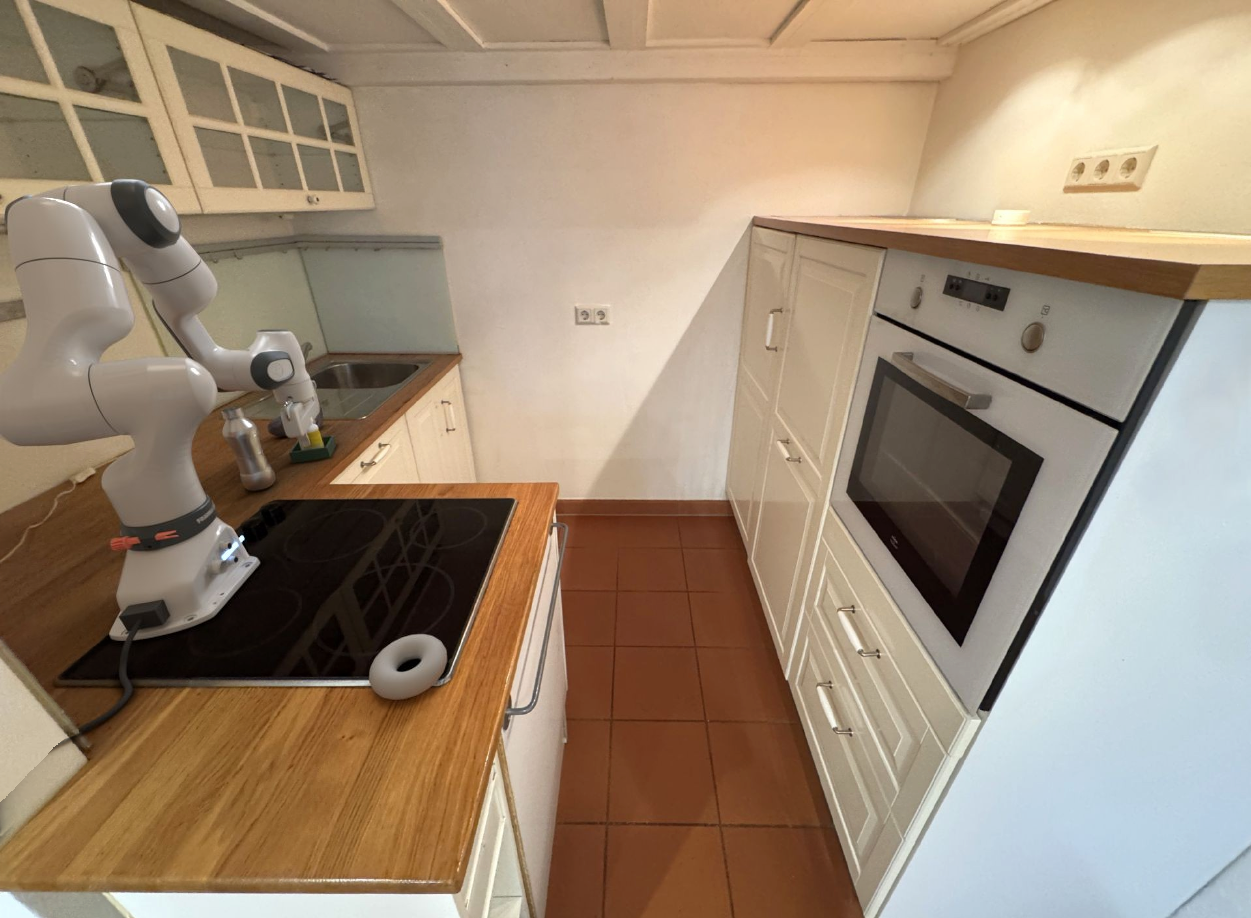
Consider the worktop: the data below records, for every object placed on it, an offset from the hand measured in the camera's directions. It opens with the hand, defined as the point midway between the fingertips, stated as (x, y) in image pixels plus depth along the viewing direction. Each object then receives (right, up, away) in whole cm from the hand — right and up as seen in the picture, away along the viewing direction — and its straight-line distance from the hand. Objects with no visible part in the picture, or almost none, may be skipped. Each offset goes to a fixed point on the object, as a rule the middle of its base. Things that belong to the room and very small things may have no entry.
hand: (310, 440), depth 135 cm
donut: (+56, -35, -66) cm, 93 cm away
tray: (0, -3, +2) cm, 4 cm away
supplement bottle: (0, -3, +2) cm, 4 cm away
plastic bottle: (-2, -12, -15) cm, 19 cm away
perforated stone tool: (-13, +3, +16) cm, 21 cm away
